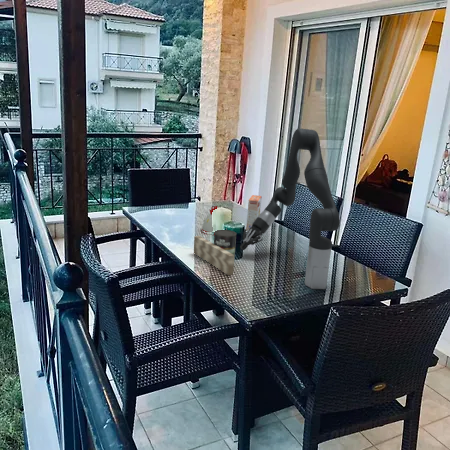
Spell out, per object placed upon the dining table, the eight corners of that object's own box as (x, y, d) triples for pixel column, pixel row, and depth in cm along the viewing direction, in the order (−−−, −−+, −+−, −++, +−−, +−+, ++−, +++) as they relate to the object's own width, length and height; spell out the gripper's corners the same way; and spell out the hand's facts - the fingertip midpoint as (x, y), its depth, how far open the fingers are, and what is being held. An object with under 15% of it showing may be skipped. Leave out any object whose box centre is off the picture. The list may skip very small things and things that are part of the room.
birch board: (233, 274, 198) (234, 255, 196) (228, 275, 197) (229, 255, 194) (198, 253, 222) (198, 235, 219) (193, 253, 220) (194, 236, 218)
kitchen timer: (196, 230, 258) (198, 205, 254) (214, 226, 268) (215, 202, 264) (213, 236, 249) (215, 210, 245) (231, 232, 259) (232, 207, 254)
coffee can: (231, 266, 207) (233, 237, 203) (209, 263, 209) (211, 234, 205) (236, 259, 217) (238, 231, 213) (215, 256, 219) (217, 228, 215)
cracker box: (255, 237, 253) (258, 200, 247) (245, 235, 254) (248, 199, 248) (259, 230, 266) (262, 195, 260) (249, 229, 267) (251, 194, 262)
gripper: (251, 213, 223) (229, 240, 220) (268, 220, 213) (245, 248, 209) (259, 222, 228) (237, 249, 224) (276, 229, 217) (254, 257, 214)
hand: (241, 248), depth 217 cm, fingers closed
